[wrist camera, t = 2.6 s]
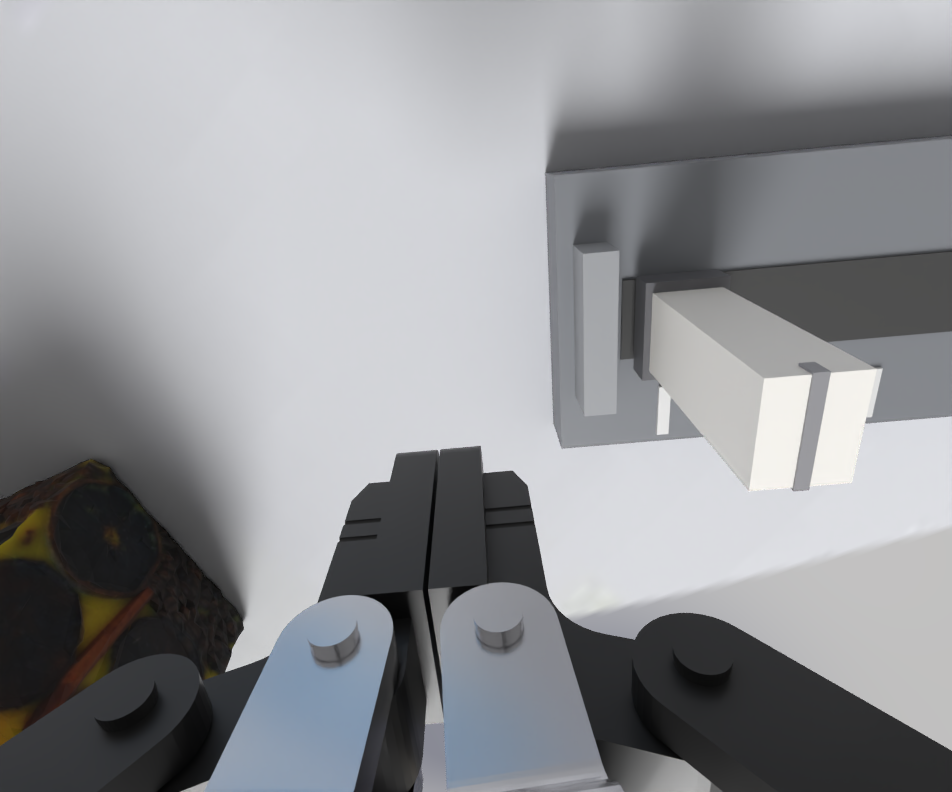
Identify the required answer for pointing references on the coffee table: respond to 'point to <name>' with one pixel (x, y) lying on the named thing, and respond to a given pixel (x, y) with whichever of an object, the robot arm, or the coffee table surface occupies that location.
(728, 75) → the coffee table surface
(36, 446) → the coffee table surface
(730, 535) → the coffee table surface
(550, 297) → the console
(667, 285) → the fader
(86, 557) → the candle
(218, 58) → the coffee table surface
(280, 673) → the robot arm
